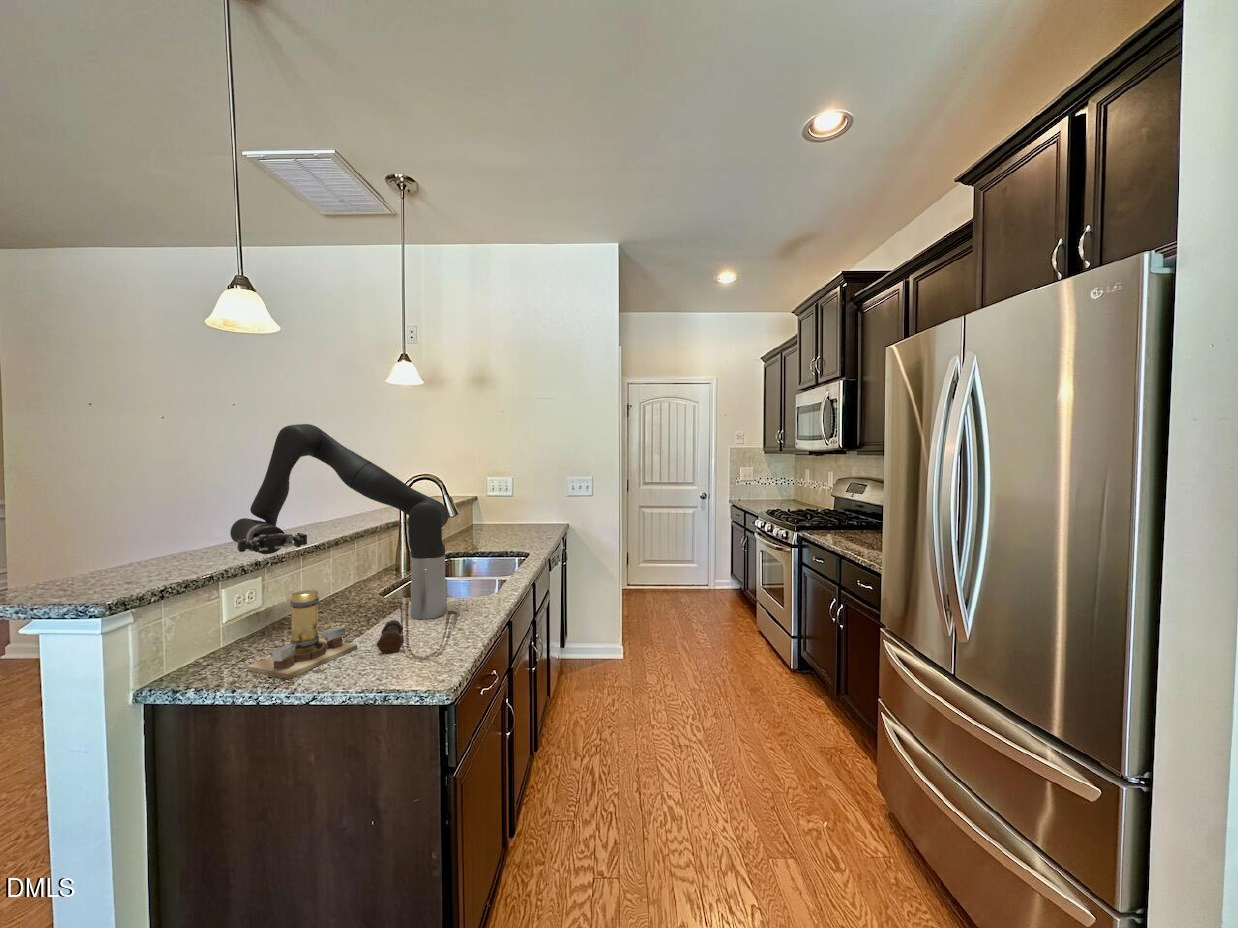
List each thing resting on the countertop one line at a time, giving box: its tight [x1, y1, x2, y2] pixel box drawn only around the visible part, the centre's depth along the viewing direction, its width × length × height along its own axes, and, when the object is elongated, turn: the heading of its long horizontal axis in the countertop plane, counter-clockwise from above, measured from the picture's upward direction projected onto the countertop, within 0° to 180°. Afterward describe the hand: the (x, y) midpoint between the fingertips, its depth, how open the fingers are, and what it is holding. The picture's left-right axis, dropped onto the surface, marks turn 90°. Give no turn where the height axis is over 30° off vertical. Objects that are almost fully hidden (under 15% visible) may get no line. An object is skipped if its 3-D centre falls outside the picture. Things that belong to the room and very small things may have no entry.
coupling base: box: [246, 637, 358, 680], centre depth 109 cm, size 17×12×3 cm
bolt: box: [376, 619, 405, 655], centre depth 119 cm, size 6×5×15 cm
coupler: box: [289, 589, 320, 654], centre depth 109 cm, size 5×5×14 cm
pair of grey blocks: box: [271, 625, 346, 661], centre depth 108 cm, size 17×3×2 cm, turn 161°
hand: (279, 545), depth 119 cm, fingers open, 8 cm apart
